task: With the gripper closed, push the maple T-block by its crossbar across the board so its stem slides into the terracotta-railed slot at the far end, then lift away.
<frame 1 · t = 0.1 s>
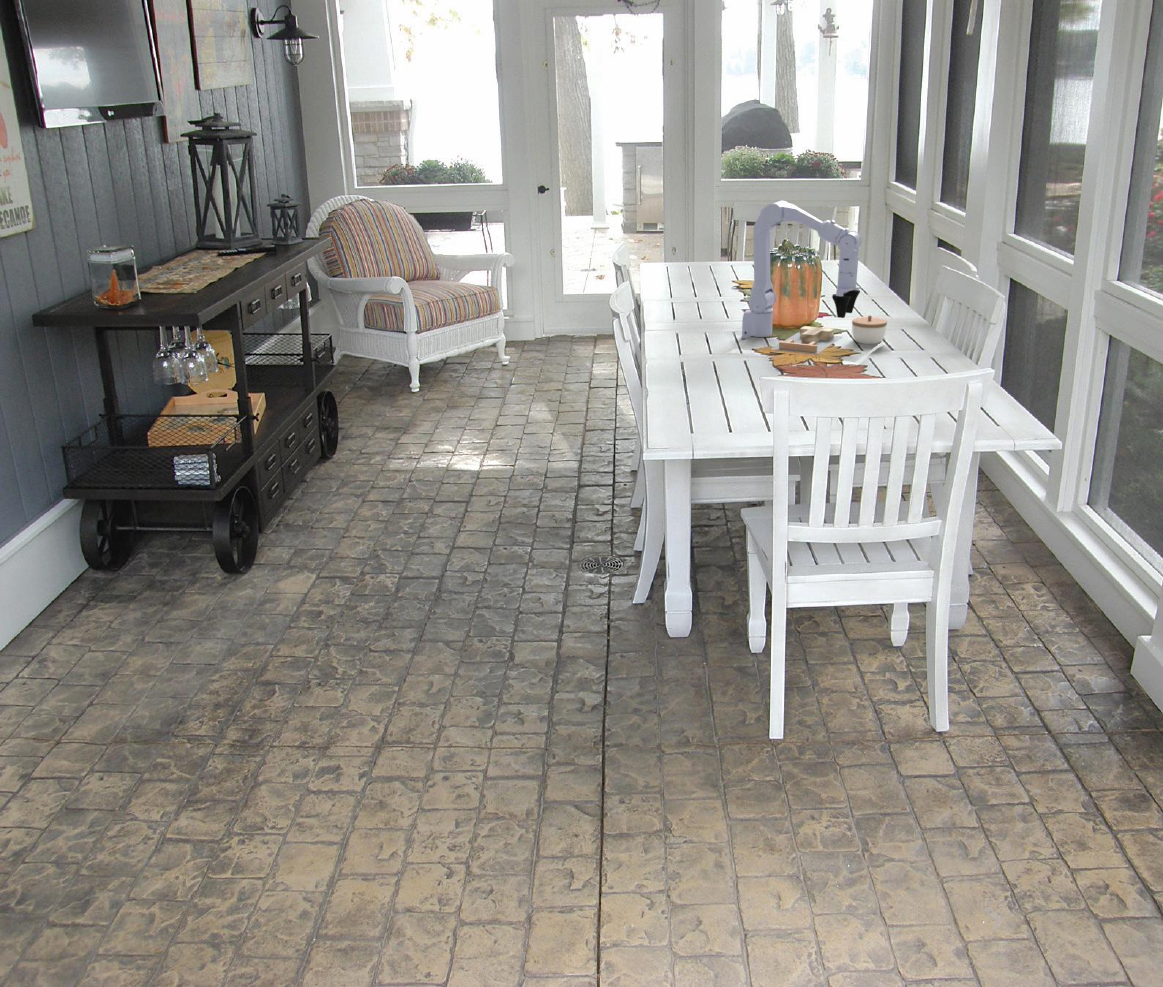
hand: (844, 315, 350), 10 cm above the table, fingers open, 7 cm apart
board: (806, 346, 354), on the table
lidded jar: (867, 345, 355), on the table
t block: (816, 337, 360), point 1 cm above the table, touching board
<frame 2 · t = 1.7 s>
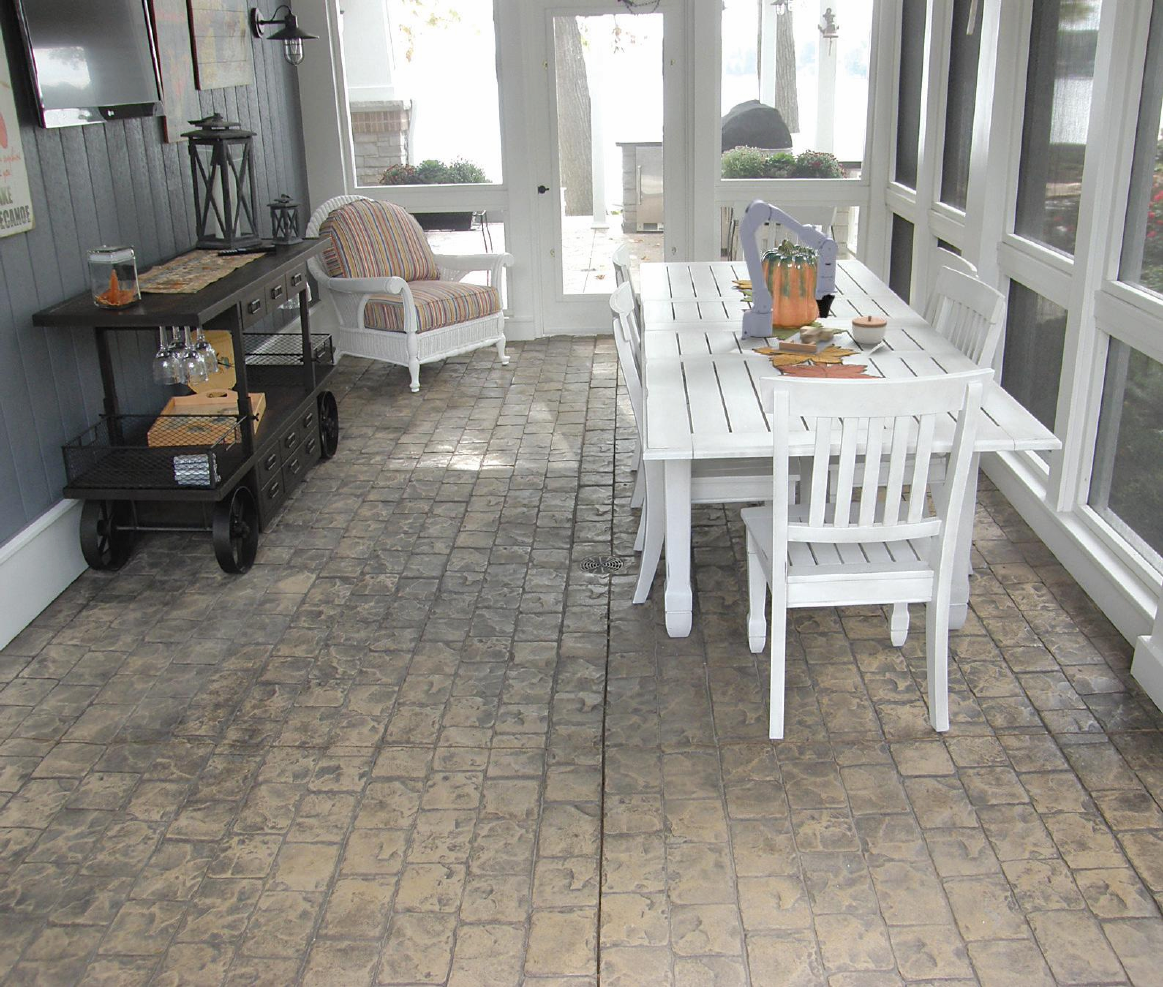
hand: (823, 317, 363), 7 cm above the table, fingers closed
nothing on the table moved.
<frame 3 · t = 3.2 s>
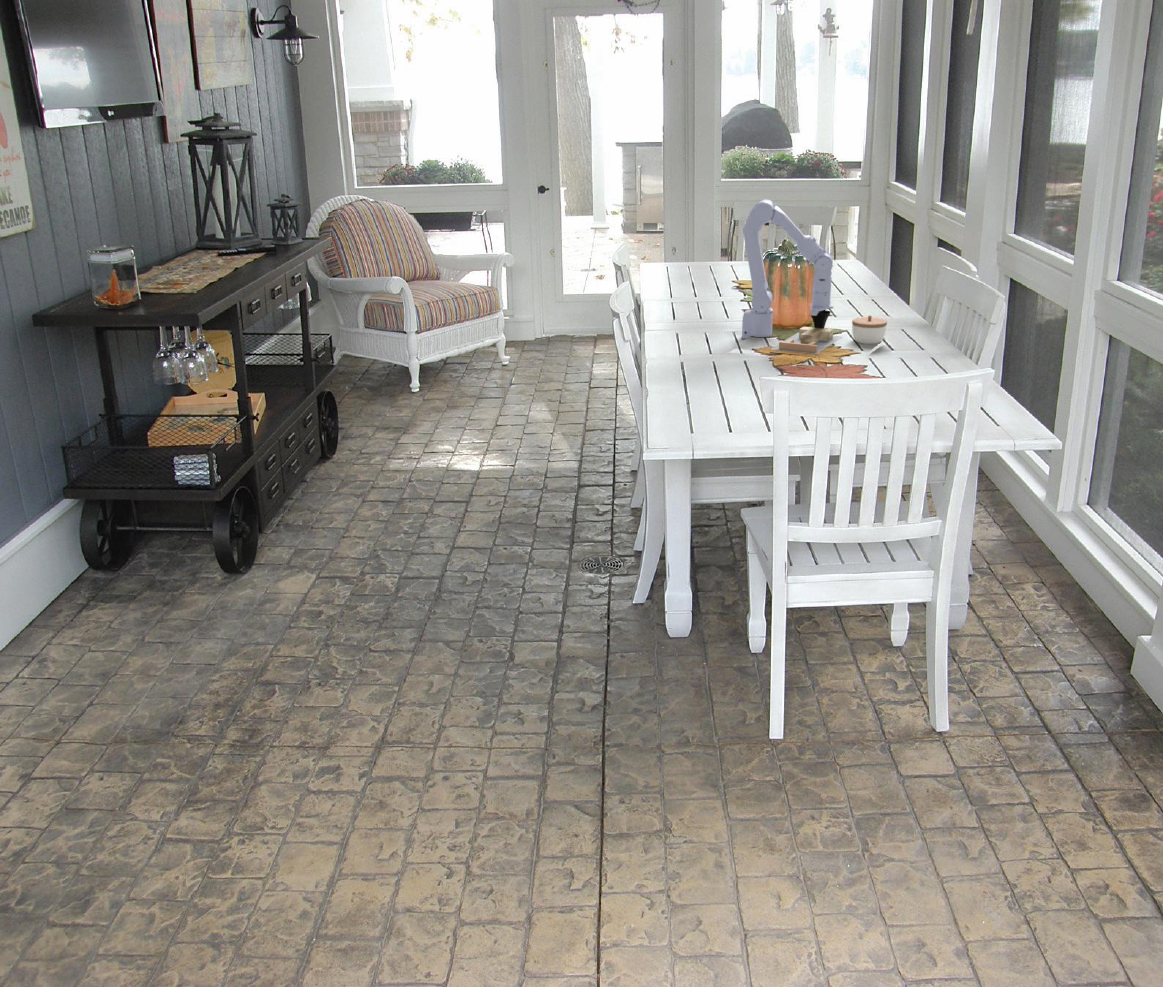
hand: (819, 333, 361), 2 cm above the table, fingers closed
t block: (815, 338, 359), point 1 cm above the table, touching board, gripper
everything else where it was.
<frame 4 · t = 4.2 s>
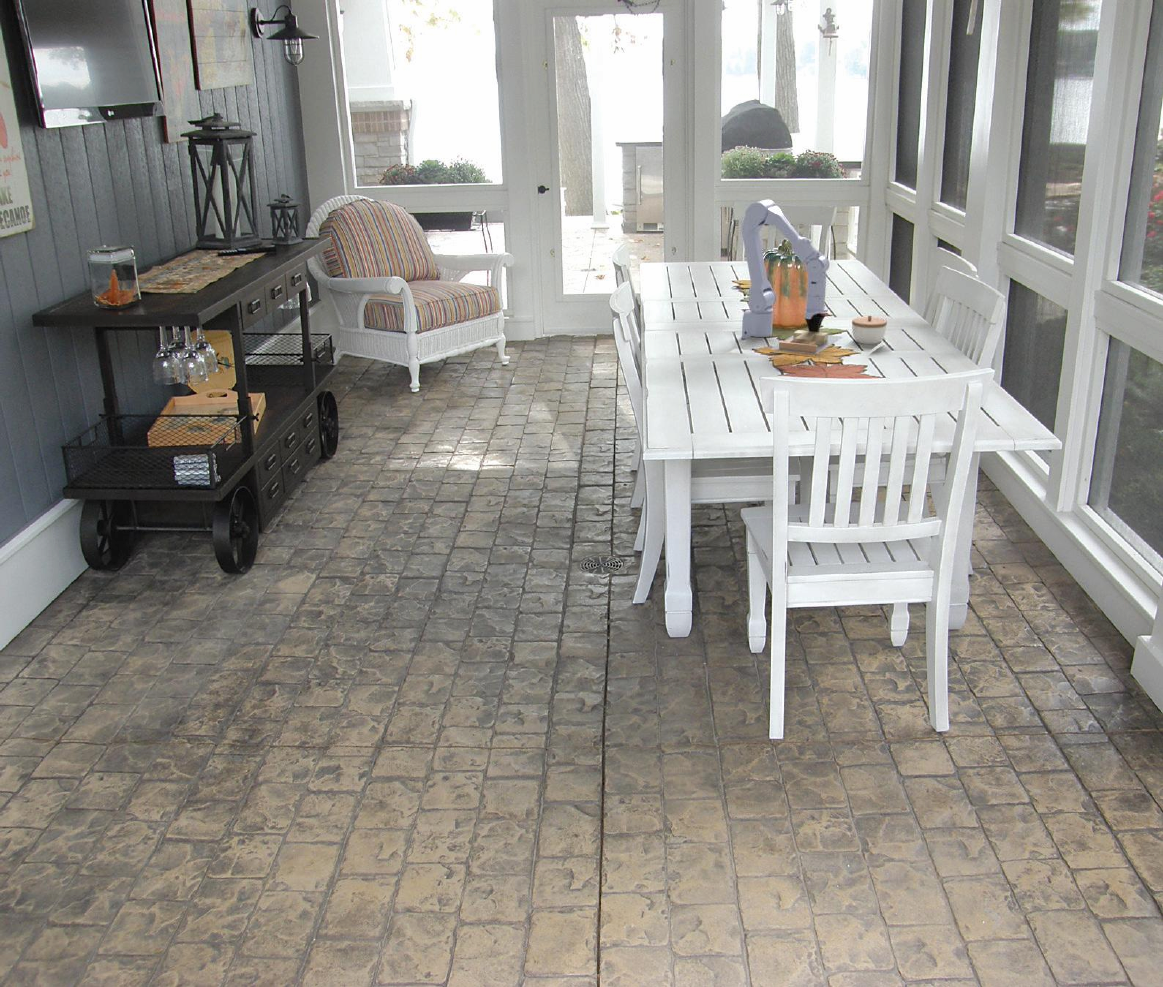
hand: (813, 337, 357), 2 cm above the table, fingers closed
t block: (810, 342, 355), point 1 cm above the table, touching board, gripper
everything else where it was.
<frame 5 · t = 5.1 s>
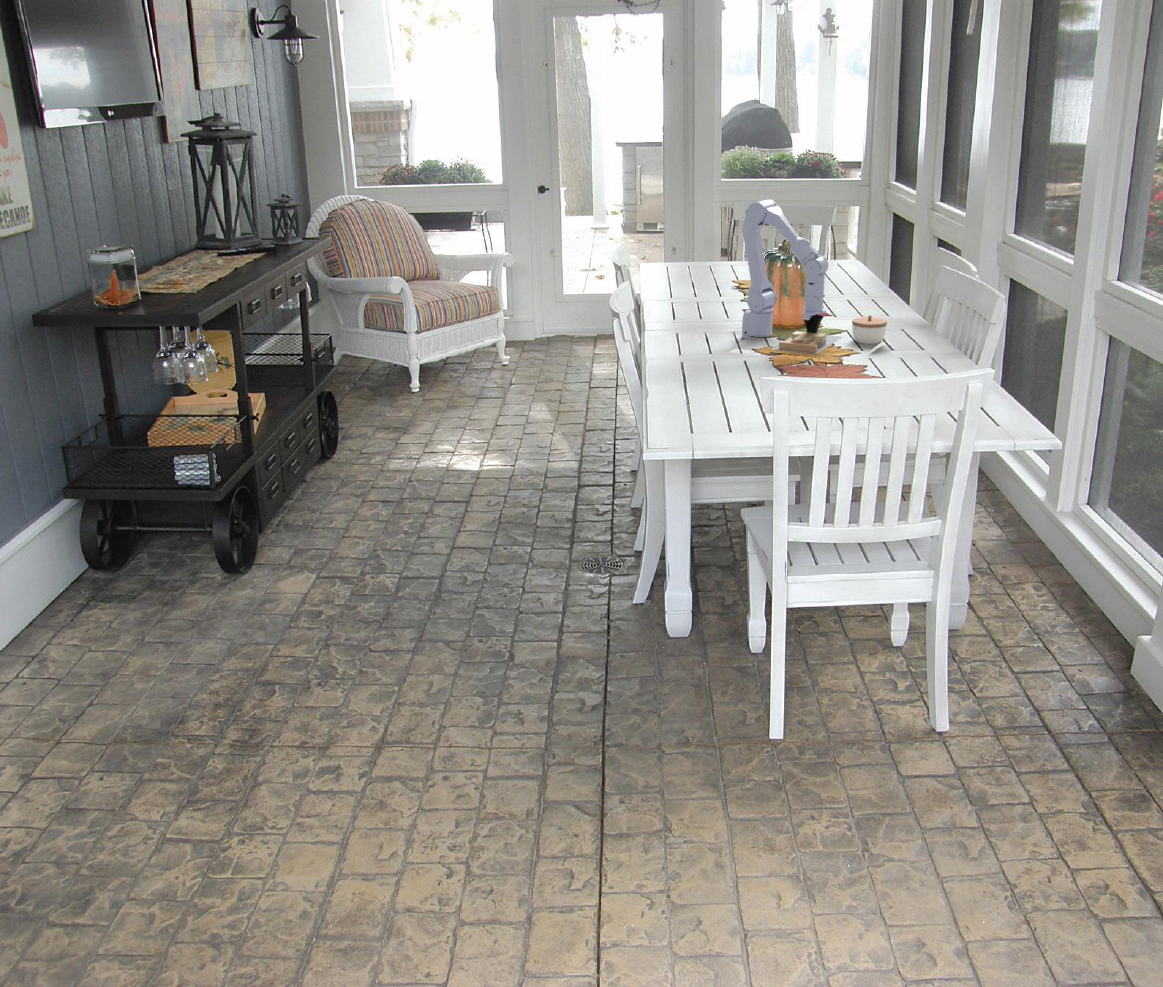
hand: (811, 338, 355), 2 cm above the table, fingers closed
t block: (808, 343, 353), point 1 cm above the table, touching board, gripper
everything else where it was.
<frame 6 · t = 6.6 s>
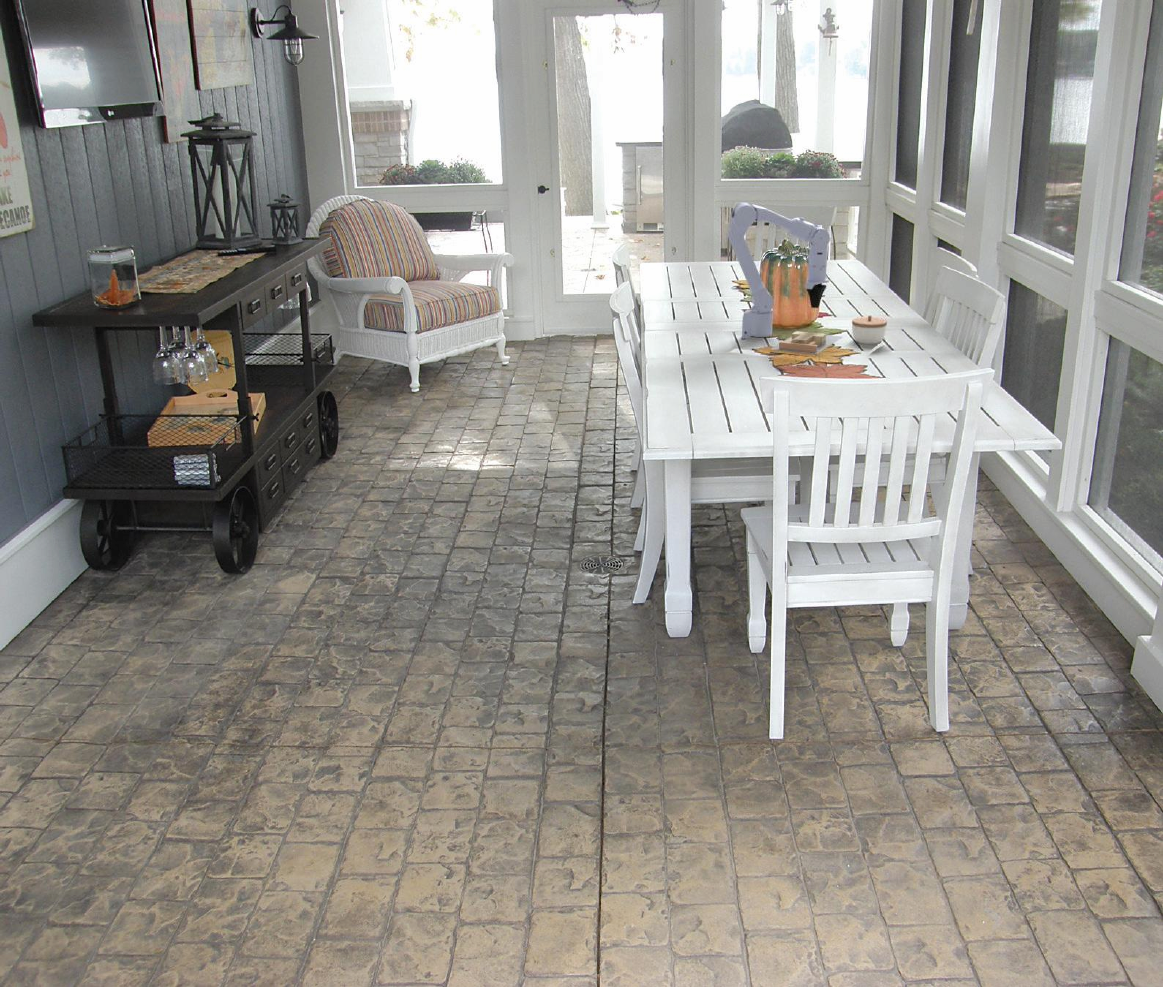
hand: (814, 307, 362), 10 cm above the table, fingers closed
t block: (808, 343, 353), point 1 cm above the table, touching board
everything else where it was.
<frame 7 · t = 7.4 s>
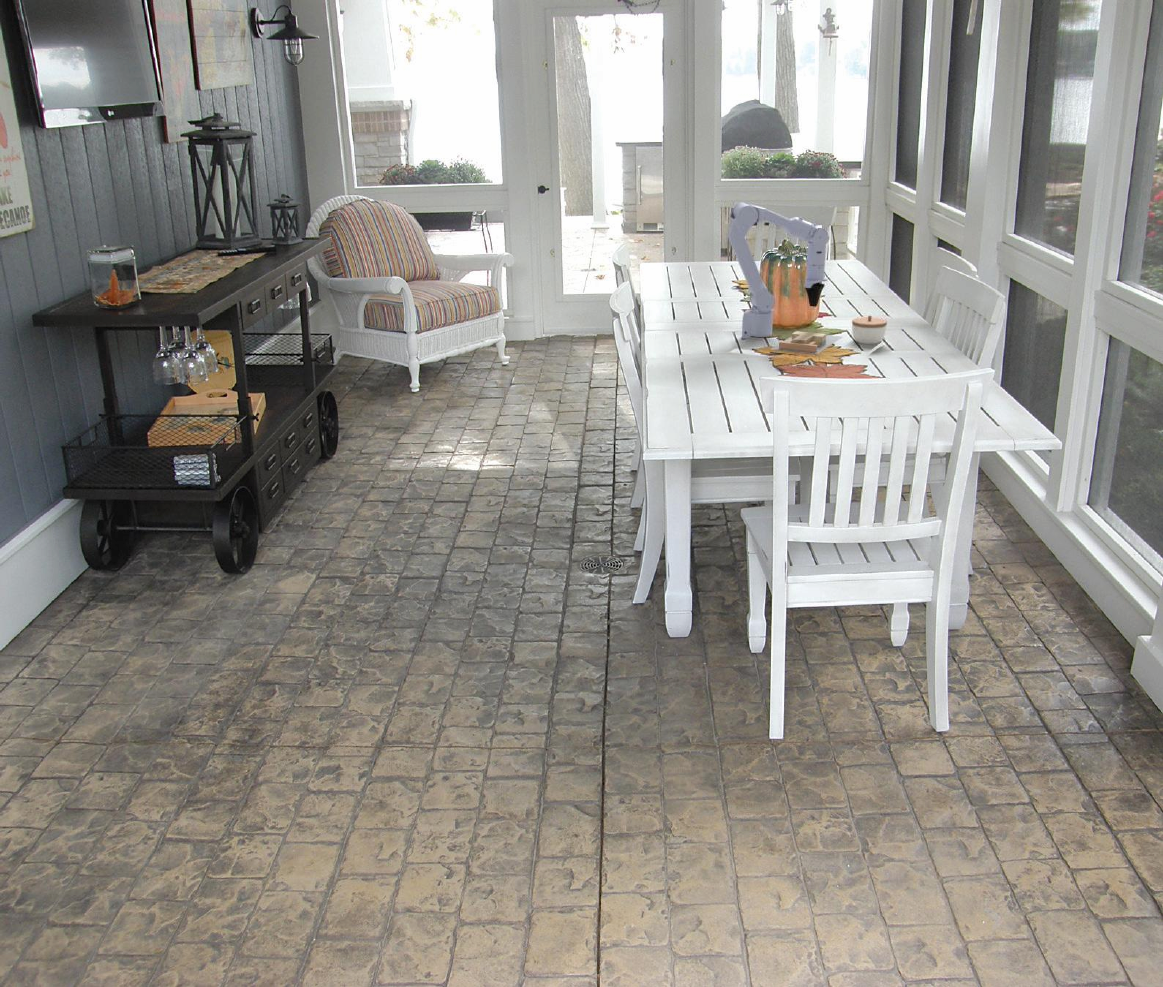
hand: (813, 306, 364), 10 cm above the table, fingers closed
nothing on the table moved.
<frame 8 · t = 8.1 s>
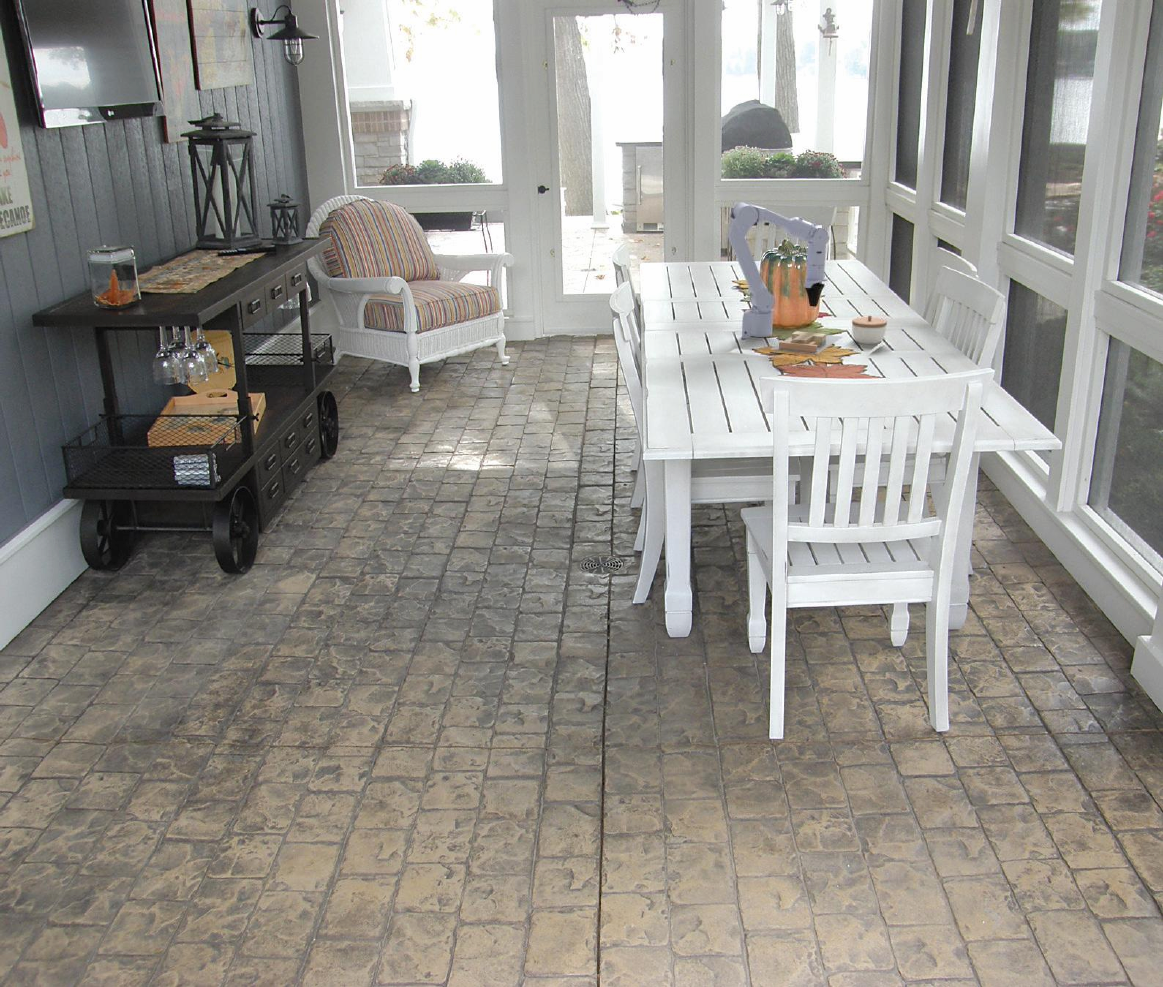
hand: (813, 306, 364), 10 cm above the table, fingers closed
nothing on the table moved.
at the end: t block 0.2 cm from the target spot, point 1.2 cm above the table; t block tilted 0°; t block moved 8.1 cm from its start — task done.
